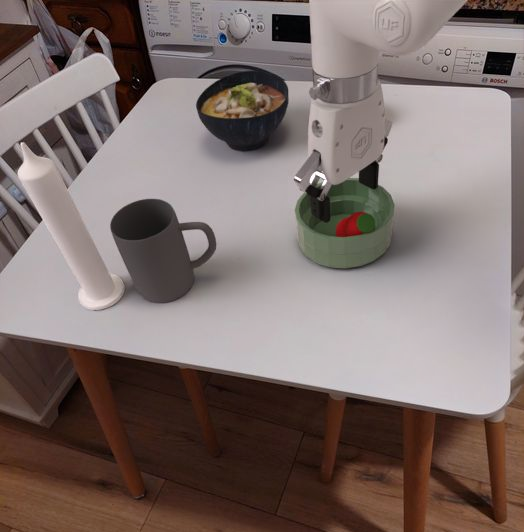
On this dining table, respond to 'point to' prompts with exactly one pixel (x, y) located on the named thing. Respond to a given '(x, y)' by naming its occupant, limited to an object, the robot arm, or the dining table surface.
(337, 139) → the robot arm
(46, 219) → the candle
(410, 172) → the dining table surface
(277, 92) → the bowl
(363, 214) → the strawberry
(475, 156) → the dining table surface
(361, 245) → the fruit bowl
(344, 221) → the red ball green cap
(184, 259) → the mug
